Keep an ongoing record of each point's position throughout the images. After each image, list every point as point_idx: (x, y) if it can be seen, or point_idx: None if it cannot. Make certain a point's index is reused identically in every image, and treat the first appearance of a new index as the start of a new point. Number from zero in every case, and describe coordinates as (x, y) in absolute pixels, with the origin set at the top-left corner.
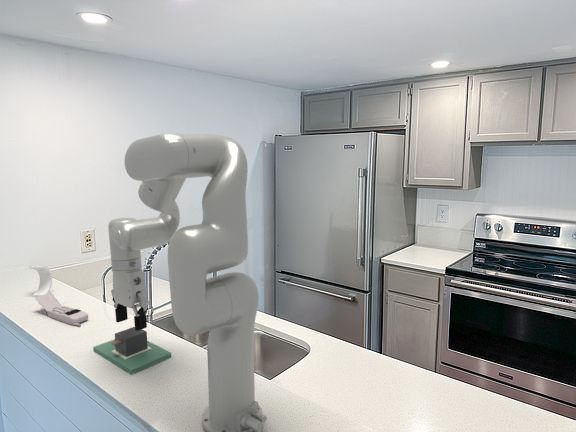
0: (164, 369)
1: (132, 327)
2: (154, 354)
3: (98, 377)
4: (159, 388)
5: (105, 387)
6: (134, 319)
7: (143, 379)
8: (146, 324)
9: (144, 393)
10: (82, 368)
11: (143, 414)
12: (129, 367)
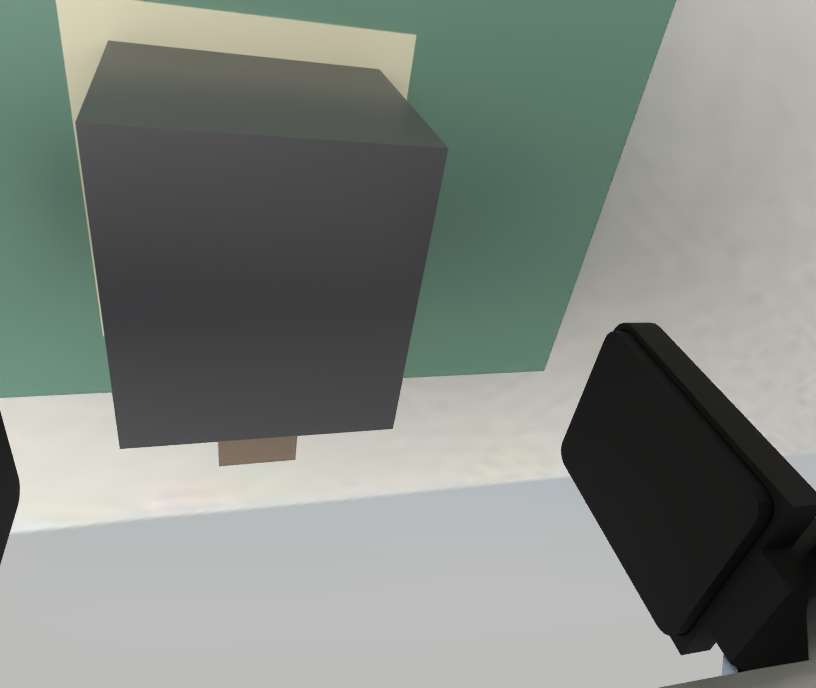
0: (704, 170)
1: (90, 195)
2: (542, 114)
3: (368, 475)
4: (776, 320)
5: (495, 481)
6: (657, 602)
7: None
8: (676, 349)
9: (721, 387)
10: (160, 505)
11: (792, 449)
12: (505, 361)
